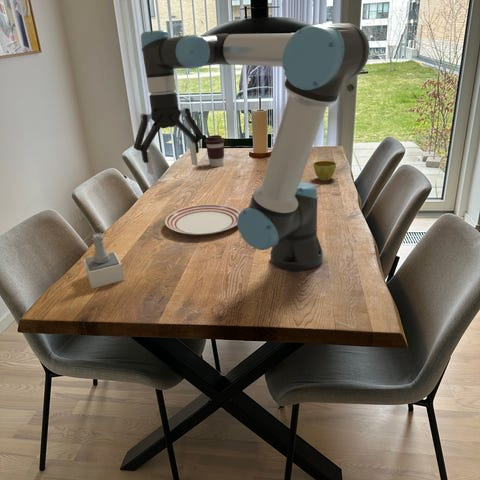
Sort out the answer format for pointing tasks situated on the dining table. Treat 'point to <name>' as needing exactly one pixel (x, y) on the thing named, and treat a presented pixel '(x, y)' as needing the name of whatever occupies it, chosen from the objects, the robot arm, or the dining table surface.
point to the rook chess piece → (100, 249)
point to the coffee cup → (215, 150)
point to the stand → (104, 271)
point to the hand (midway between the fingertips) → (173, 169)
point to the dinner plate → (203, 219)
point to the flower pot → (324, 169)
